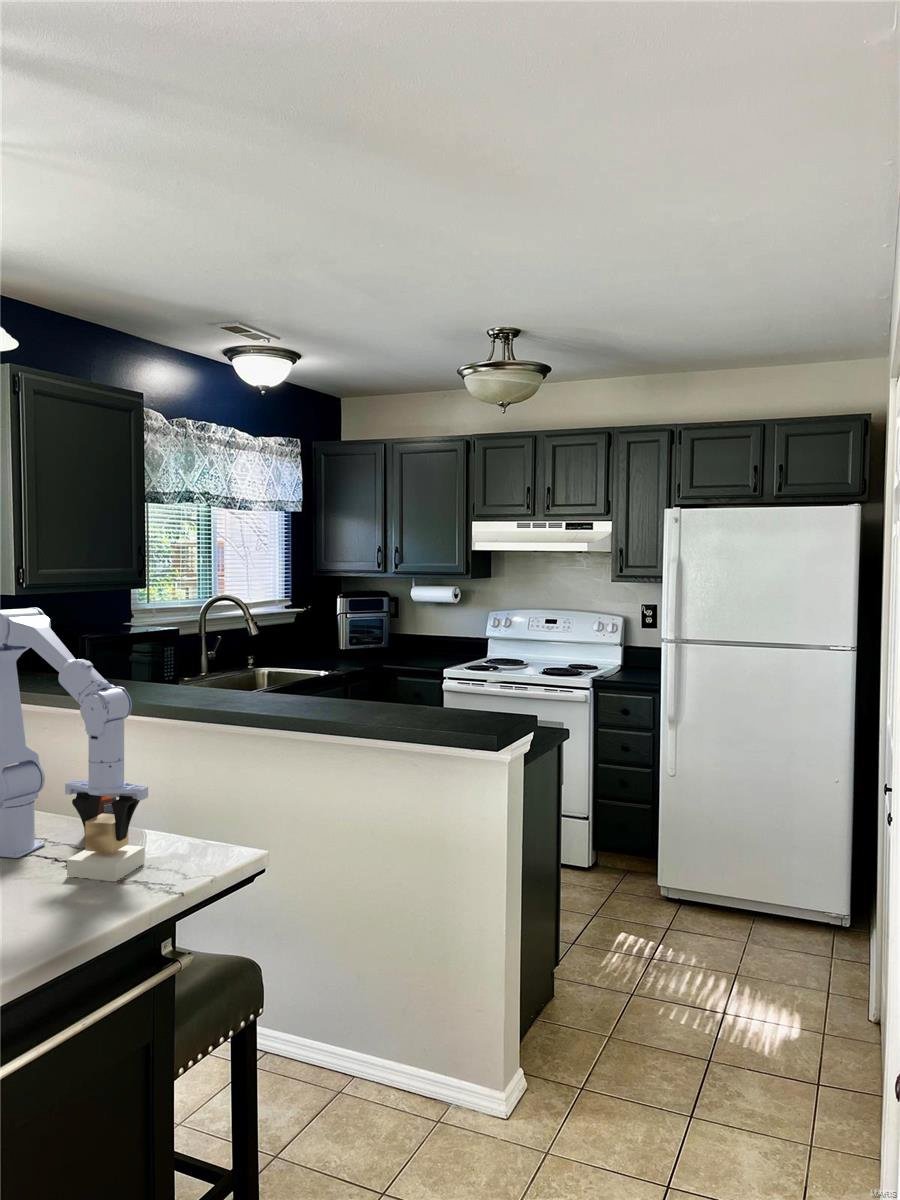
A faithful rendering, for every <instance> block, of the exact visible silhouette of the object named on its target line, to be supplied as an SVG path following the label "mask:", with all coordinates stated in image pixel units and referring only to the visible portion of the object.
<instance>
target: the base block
mask: <svg viewBox="0 0 900 1200" xmlns="http://www.w3.org/2000/svg"><path fill="white" fill-rule="evenodd" d="M145 850H146V849H145V846H139V845H131V844H130V845H129V844H127V845H126V846H124V847H122V848H120V849H119V850H117V851H115V852H113V853H104V852H94V851H85V849H83V850H81V851H80V852H78V853H76V854H75V855H72V856H71V857H69V858H67V859H66V877H67V876H69V877H68V878H73V877H79V878H78V879H83V878H89V879H88V880H95V881H106V882H114V883H115V882H117V880H118V881H119V880H121V879H122V878H124V877H125V875H126V876H127V875H129V874H130V873H132V872H134V871H135V870H137V869H138V868H140V867H141V865H142V866H143V865H145V857H146V856H145ZM139 866H140V867H139ZM136 868H137V869H136ZM120 878H121V879H120Z"/></svg>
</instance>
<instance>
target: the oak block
mask: <svg viewBox="0 0 900 1200" xmlns="http://www.w3.org/2000/svg"><path fill="white" fill-rule="evenodd" d="M84 836H85V838H84V839H85V842H84V843H85V846H84V847H85V849H84V850H85V851H94V852H104V853H113V852H115V851H117V850H119V849H120V848H122V847H124V846H126V845H129V831H128V832H127V837H126V838H125V839H123V840H121V841H116V834H115V816H114V814H103V813H102V814H100V815H98V816H96V817H94V818H92V819H90V820H88V821H86V822H85V831H84Z"/></svg>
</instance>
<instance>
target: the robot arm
mask: <svg viewBox="0 0 900 1200" xmlns="http://www.w3.org/2000/svg"><path fill="white" fill-rule="evenodd" d="M51 626H52V624H51V618H49V616H47V615H46V614H45V613H44V611H43V610H42V608H41V609H40V608H39V607H33V606H32V607H27V608H12V609H0V857H3V858H13V859H19V858H20V857H23V856H25V855H28V854H29V853H31V852H34V851H35V850H38V849H40V848H42V847H43V846H45V845H46V842H45V841H38V840H36V837H35V836H36V835H35V834H36V833H35V831H36V828H35V827H36V826H35V823H36V821H35V820H36V819H35V815H36V814H35V813H36V812H35V803H36V801H35V800H36V799H38V798H39V793H41V792H42V790H43V788H44V786H45V782H46V778H45V777H46V776H45V772H44V769H43V767H42V765H41V763H40V762H41V761H40V759H39V757H40V756H39V754H38V753H37V752H36V751H34V750H33V749H32V748H30V747H28V746H27V743H26V742H27V741H26V734H25V728H24V718H23V710H22V702H21V693H20V684H19V675H18V668H17V667H18V666H17V661H18V659H19V658H20V657H21V656H22V654H23V653H24V652H26V651H27V650H29V649H30V648H31V649H32V650H34V652H36V653H37V654H38V655H39V656H40V657H41V658H42V659H44V660H45V661H46V662H47V663H48V664H49V665H50V666H51V667H52V668H54V670H56V671H57V672H59V673H58V683H59V684H60V686H61V687H63V689H64V690H66V692H67V693H68V694H69V695H70V696H71V697H72V698H73V699H74V700H75V701H76V702H77V703H78V704H79V705H80V707H79V712H80V717H81V718H82V720H83V721H84V725H85V729H84V730H85V732H86V735H88V780H71V781H68V782H66V783H64V794H65V795H69V796H70V795H74V794H75V795H76V796H75V798H73V799H72V800H71V804H72V806H73V807H74V809H75V810H76V812H77V813H78V815H79V817H80V819H81V822H82V826H83V829H85V822H86V821H88V820H90V819H92V818H94V817H96V816H98V811H99V804H100V799H101V796H108V797H117V798H118V799H117V800H115V801H113V802H112V803H111V805H112V808H113V812H114V816H115V834H116V841H121V840H123V839H125V838H126V837H127V832H128V833H129V827H130V825H131V820H132V817H133V815H134V813H135V811H136V809H137V808H138V805H139V803H140V802H141V801H144V800H146V799H148V798H149V786H148V785H147V786H146V785H140V784H136V783H135V784H134V783H130V782H127V781H125V720H126V719H127V718H128V717H129V716H130V715H131V713H132V709H133V708H132V707H133V703H132V698H131V696H130V694H129V692H128V691H127V690H126V688H125V687H122V686H118V685H117V686H115V685H114V684H113V683H112V684H111V683H110V682H108V680H107V679H105V678H104V677H103V676H102V675H101V674H100V673H99V672H98V671H97V670H96V668H94V664H93V663H92V662H91V661H90V660H86V659H84V658H81V659H79V658H78V659H76V657H74V655H73V654H72V652H70V651H69V649H68V648H67V646H66V645H65V644H64V643H63V642H62V641H61V639H60V638H59V637H58V636H57V635H56V633H55V632H54V630H52V628H51Z"/></svg>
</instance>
